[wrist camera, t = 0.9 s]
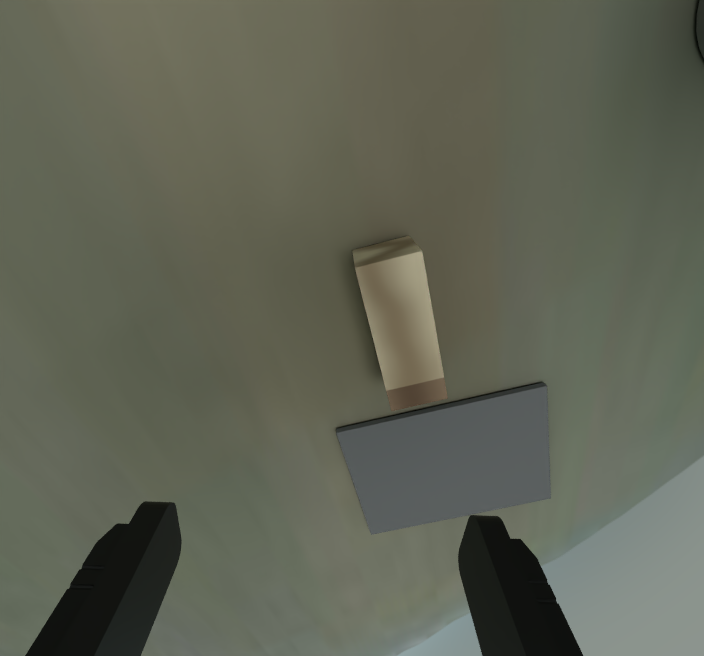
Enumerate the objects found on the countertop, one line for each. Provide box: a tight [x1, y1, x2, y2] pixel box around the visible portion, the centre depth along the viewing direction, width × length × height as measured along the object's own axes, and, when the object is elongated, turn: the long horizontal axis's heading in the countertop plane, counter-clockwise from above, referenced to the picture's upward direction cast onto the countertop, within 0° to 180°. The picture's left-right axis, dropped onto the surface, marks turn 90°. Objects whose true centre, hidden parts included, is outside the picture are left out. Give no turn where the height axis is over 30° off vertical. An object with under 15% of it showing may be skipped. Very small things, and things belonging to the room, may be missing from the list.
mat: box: [336, 382, 551, 535], centre depth 39 cm, size 20×15×1 cm
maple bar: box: [352, 236, 448, 411], centre depth 29 cm, size 4×12×5 cm, turn 14°
